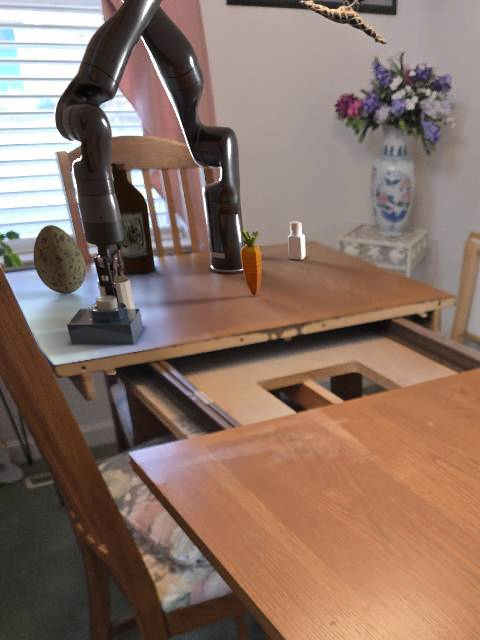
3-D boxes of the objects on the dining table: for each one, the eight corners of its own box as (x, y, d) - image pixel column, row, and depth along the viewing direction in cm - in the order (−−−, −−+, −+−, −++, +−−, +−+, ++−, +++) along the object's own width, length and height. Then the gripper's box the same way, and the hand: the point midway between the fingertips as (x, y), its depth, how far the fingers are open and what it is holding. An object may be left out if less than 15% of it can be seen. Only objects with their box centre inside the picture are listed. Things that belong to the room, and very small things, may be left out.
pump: (95, 311, 140) (92, 301, 139) (99, 305, 143) (97, 295, 142) (116, 311, 141) (113, 301, 139) (120, 305, 144) (118, 295, 143)
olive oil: (114, 265, 188) (94, 160, 174) (156, 263, 191) (139, 159, 177) (115, 276, 180) (94, 166, 166) (158, 273, 183) (141, 166, 169)
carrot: (267, 293, 173) (262, 227, 164) (261, 299, 169) (256, 232, 160) (247, 292, 173) (241, 226, 164) (241, 298, 169) (234, 231, 160)
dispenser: (71, 344, 140) (64, 314, 137) (84, 327, 148) (77, 299, 145) (133, 344, 142) (128, 314, 138) (143, 327, 150) (137, 299, 146)
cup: (109, 312, 157) (101, 275, 152) (138, 312, 158) (132, 275, 153) (102, 322, 152) (94, 284, 147) (133, 322, 152) (125, 284, 148)
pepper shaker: (288, 259, 200) (286, 223, 194) (292, 256, 203) (290, 220, 197) (302, 260, 199) (300, 224, 194) (306, 257, 202) (304, 221, 197)
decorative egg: (40, 301, 162) (22, 231, 153) (43, 287, 170) (26, 220, 161) (90, 298, 165) (75, 229, 156) (91, 285, 173) (77, 219, 164)
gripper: (112, 224, 138) (128, 310, 147) (127, 210, 149) (141, 290, 159) (72, 224, 137) (91, 310, 146) (90, 209, 148) (107, 290, 158)
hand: (117, 300), depth 153 cm, fingers closed on cup, 6 cm apart
